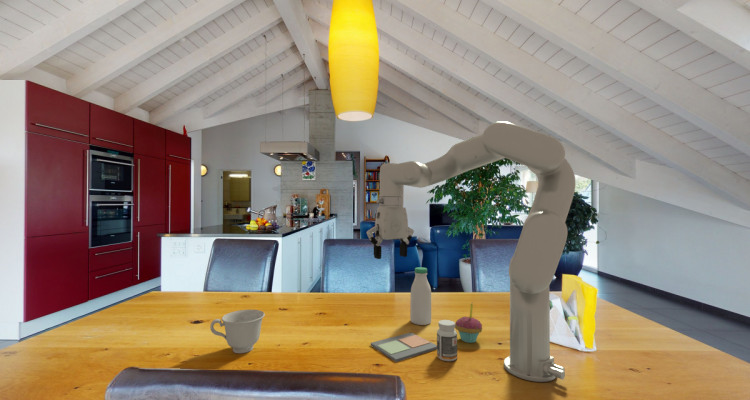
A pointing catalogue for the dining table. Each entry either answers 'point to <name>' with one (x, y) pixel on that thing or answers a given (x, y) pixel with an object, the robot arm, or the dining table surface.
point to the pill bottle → (446, 341)
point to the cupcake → (468, 328)
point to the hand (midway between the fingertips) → (390, 257)
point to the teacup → (240, 329)
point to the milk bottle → (420, 298)
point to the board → (403, 346)
